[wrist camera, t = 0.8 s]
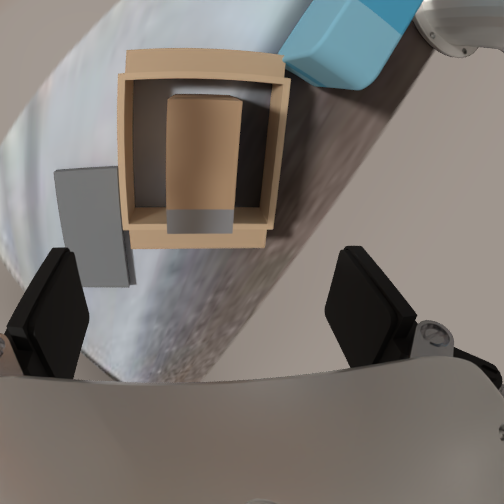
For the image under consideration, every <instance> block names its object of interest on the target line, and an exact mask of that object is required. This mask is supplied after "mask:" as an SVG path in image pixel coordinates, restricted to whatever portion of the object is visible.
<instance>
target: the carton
mask: <svg viewBox="0 0 504 504" xmlns="http://www.w3.org/2000/svg"><path fill="white" fill-rule="evenodd" d="M283 57H284V55H278V54H270V53H261V52H252V51H240V50H225V49H202V48H161V49H138V50H127V53H126V69H125V73H122V74H118V97H117V141H118V170H119V188H120V202H121V214H122V225H123V230H129V234H130V244H131V249H181V248H265V241H266V233H267V230H273V226H274V218H275V210H276V202H277V194H278V186H279V178H280V170H281V161H282V153H283V144H284V136H285V127H286V119H287V110H288V101H289V92H290V83H291V79H290V78H284V73H285V64H286V63H284V62H283V61H282V59H283ZM143 79H220V80H238V81H251V82H263V83H272V92H271V102H270V112H269V122H268V131H267V141H266V151H265V160H264V170H263V180H262V189H261V199H260V208H257V207H234V218H233V233H232V234H167V215H166V207H142V208H135V196H134V174H133V87H134V80H143Z"/></svg>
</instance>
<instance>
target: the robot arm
mask: <svg viewBox="0 0 504 504" xmlns="http://www.w3.org/2000/svg"><path fill="white" fill-rule="evenodd" d="M412 20H413V22H414V24H415V26H416V27H417V29H418V31H419V32H420V34H421V35H422V36H423V38H424V39H425V40H426V41H427V42H428V43H429V44H430V45H431V46H432V47H433V48H434V49H436V50H437V51H439V52H440V53H442V54H444V55H447V56H450V57H457V58H462V57H467V56H470V55H471V54H473V53H474V52H475V51H476V50H477V49H478V47H484V48H494V49H499V50H501V51H502V52H504V0H424V1H423V2H422V4H421V6H420V7H419V9H418V11H417V12H416V14H415V16H414V17H413V19H412ZM325 316H326V318H327V321H328V323H329V325H330V326H331V329H332V331H333V333H334V335H335V337H336V339H337V341H338V343H339V345H340V347H341V349H342V351H343V353H344V355H345V357H346V359H347V361H348V364H349V366H350V368H348V369H342V370H336V371H328V372H320V373H313V374H304V375H296V376H287V377H276V378H264V379H253V380H237V381H219V382H189V383H137V382H110V381H91V380H75V379H73V377H74V373H75V370H76V366H77V362H78V358H79V354H80V351H81V347H82V344H83V340H84V337H85V333H86V330H87V327H88V323H89V311H88V307H87V304H86V300H85V296H84V292H83V288H82V284H81V280H80V276H79V271H78V267H77V262H76V258H75V254H74V252H70V250H69V248H68V247H66V248H52V249H51V251H50V252H49V254H48V256H47V257H46V259H45V260H44V262H43V263H42V265H41V267H40V268H39V270H38V271H37V273H36V275H35V276H34V278H33V280H32V281H31V283H30V285H29V286H28V288H27V290H26V291H25V293H24V295H23V297H22V298H21V300H20V302H19V304H18V306H17V307H16V309H15V311H14V313H13V315H12V317H11V319H10V320H9V322H8V324H7V329H6V331H5V333H4V334H2V333H0V504H504V385H503V384H502V376H501V374H500V372H499V371H498V369H497V368H496V366H495V365H493V364H491V363H489V362H487V361H485V360H483V359H480V358H478V357H476V356H473V355H471V354H469V353H466V352H464V351H462V350H459V349H457V348H455V347H454V339H453V336H452V334H451V332H450V331H449V330H448V329H447V328H446V327H445V326H443V325H442V324H440V323H438V322H435V321H429V320H425V321H421V322H420V323H419V324H417V322H416V321H415V319H416V317H417V314H416V313H415V311H414V310H413V309H412V307H411V306H410V305H409V304H408V302H407V301H406V300H405V299H404V297H403V296H402V295H401V294H400V292H399V291H398V290H397V288H396V287H395V286H394V285H393V283H392V282H391V281H390V280H389V278H388V277H387V276H386V275H385V274H384V272H383V271H382V270H381V269H380V267H379V266H378V265H377V264H376V263H375V262H374V260H373V259H372V258H371V257H370V256H369V254H368V253H367V252H366V251H365V250H364V248H363V247H362V246H346V247H345V248H344V250H341V251H340V253H339V256H338V260H337V264H336V268H335V272H334V276H333V280H332V283H331V287H330V291H329V294H328V298H327V302H326V305H325Z"/></svg>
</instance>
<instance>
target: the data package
mask: <svg viewBox="0 0 504 504" xmlns="http://www.w3.org/2000/svg"><path fill="white" fill-rule="evenodd" d="M423 1H424V0H313V2H312V3H311V4H310V6H309V7H308V9H307V10H306V12H305V13H304V15H303V16H302V17H301V19H300V20H299V22H298V23H297V25H296V26H295V28H294V29H293V31H292V32H291V34H290V35H289V37H288V38H287V40H286V42H285V43H284V45H283V46H282V48H281V49H280V51H279V53H278V55H284V57H283V59H282V61H283V62H284V63H286V64H285V69H287V70H288V71H290V72H292V73H293V74H295V75H297V76H298V77H300V78H302V79H303V80H305V81H306V82H308V83H309V84H311V85H313V86H316V87H329V88H340V89H350V90H362V89H364V88H366V87H367V86H369V85H370V84H371V83H372V82H373V81H374V80H375V79H376V78H377V77H378V75H379V74H380V72H381V70H382V69H383V67H384V66H385V64H386V62H387V61H388V59H389V57H390V56H391V54H392V52H393V51H394V49H395V47H396V46H397V44H398V42H399V41H400V39H401V37H402V36H403V34H404V32H405V31H406V29H407V27H408V26H409V24H410V22H411V21H412V19H413V17H414V16H415V14H416V12H417V11H418V9H419V7H420V6H421V4H422V2H423Z"/></svg>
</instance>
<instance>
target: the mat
mask: <svg viewBox="0 0 504 504" xmlns="http://www.w3.org/2000/svg"><path fill="white" fill-rule="evenodd" d="M54 180H55V188H56V196H57V203H58V209H59V216H60V222H61V227H62V233H63V238H64V243H65V248H66V247H68V248H69V250H70V252H74V254H75V258H76V262H77V267H78V271H79V276H80V280H81V284H82V287H129V286H130V280H129V273H128V265H127V258H126V249H125V241H124V231H123V225H122V214H121V202H120V188H119V170H118V166H109V167H91V168H76V169H63V170H56V171H55V172H54Z"/></svg>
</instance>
